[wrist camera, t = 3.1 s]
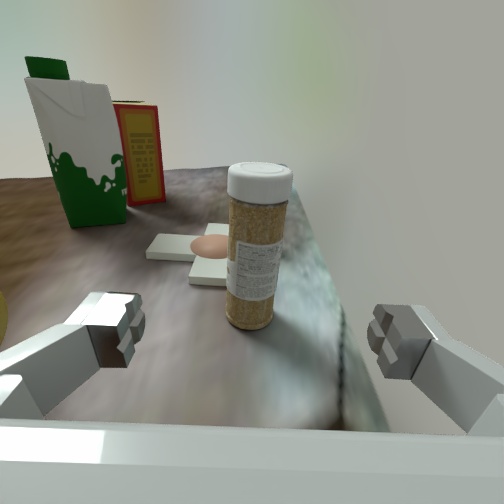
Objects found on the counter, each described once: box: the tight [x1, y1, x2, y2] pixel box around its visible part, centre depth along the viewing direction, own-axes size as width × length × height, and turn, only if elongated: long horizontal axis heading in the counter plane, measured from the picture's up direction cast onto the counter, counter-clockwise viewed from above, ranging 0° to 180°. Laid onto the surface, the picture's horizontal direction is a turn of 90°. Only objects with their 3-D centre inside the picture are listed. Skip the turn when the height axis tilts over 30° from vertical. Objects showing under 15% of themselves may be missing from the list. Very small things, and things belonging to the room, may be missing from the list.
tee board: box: [146, 223, 229, 286], centre depth 35 cm, size 11×14×1 cm
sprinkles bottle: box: [225, 162, 293, 330], centre depth 22 cm, size 5×5×14 cm
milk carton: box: [24, 56, 127, 228], centre depth 38 cm, size 9×9×20 cm
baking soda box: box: [112, 101, 166, 206], centre depth 48 cm, size 10×6×16 cm
